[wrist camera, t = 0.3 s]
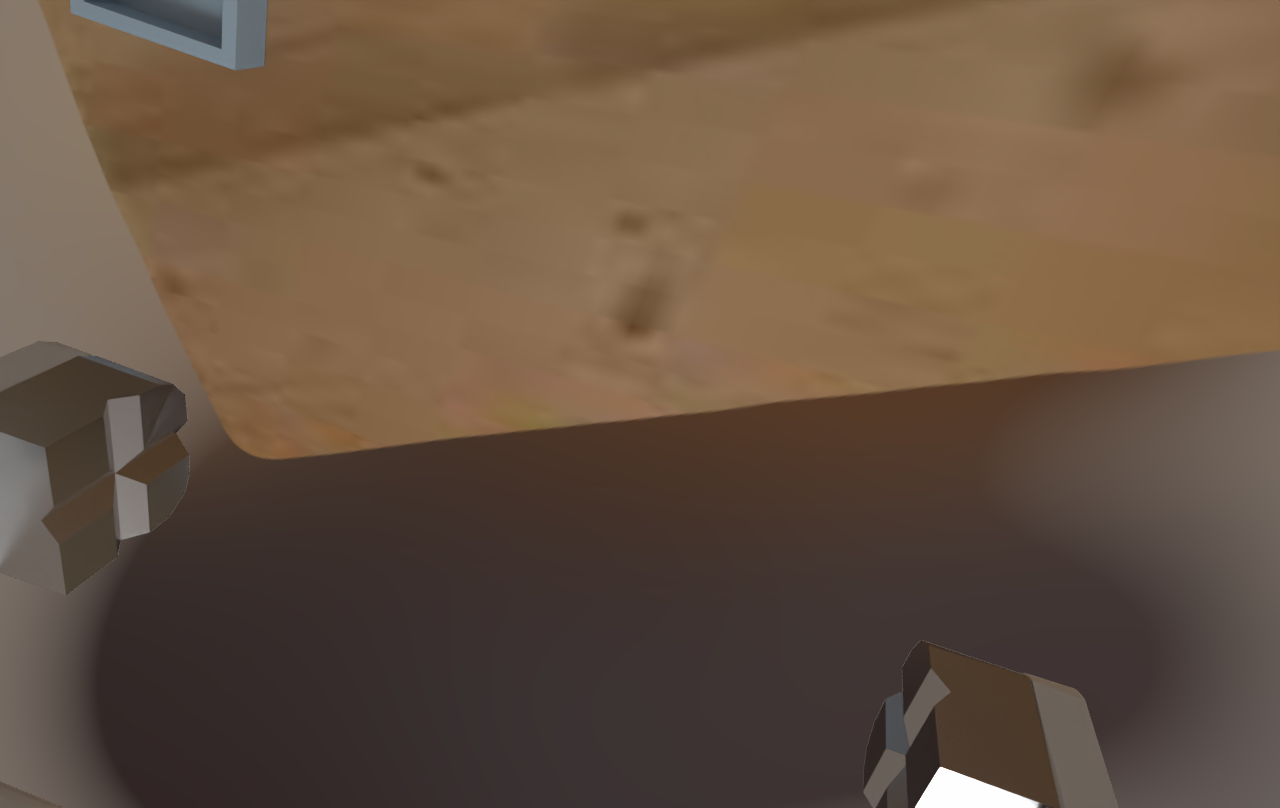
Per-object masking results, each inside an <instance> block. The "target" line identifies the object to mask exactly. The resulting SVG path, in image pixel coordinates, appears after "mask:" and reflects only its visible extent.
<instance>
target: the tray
mask: <svg viewBox="0 0 1280 808" xmlns="http://www.w3.org/2000/svg"><path fill="white" fill-rule="evenodd" d="M70 6H71V13H73V14H75V15H78V16H81V17H84V18H87V19H90V20H93V21H95V22H98V23H101V24H104V25H107V26H110V27H113V28H115V29H118V30H121V31H124V32H127V33H130V34H133V35H136V36H138V37H141V38H144V39H147V40H150V41H153V42H156V43H158V44H161V45H164V46H167V47H170V48H173V49H176V50H179V51H181V52H184V53H187V54H190V55H193V56H196V57H199V58H201V59H204V60H207V61H210V62H213V63H216V64H219V65H221V66H224V67H227V68H230V69H233V70H241V69H248V68H256V67H263V66H264V59H265V39H266V18H267V0H70Z"/></svg>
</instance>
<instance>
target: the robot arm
mask: <svg viewBox="0 0 1280 808" xmlns="http://www.w3.org/2000/svg"><path fill="white" fill-rule="evenodd" d="M187 421H188V419H187V408H186V398H185V394H184V393H183V392H182V391H181V390H179V389H178V388H177V387H176V386H175V385H174V384H172V383H169V382H166V381H163V380H160V379H158V378H155V377H153V376H150V375H147V374H144V373H142V372H139V371H136V370H133V369H131V368H128V367H125V366H123V365H120V364H117V363H114V362H112V361H109V360H106V359H103V358H101V357H98V356H92V355H90V354H88V353H86V352H83V351H80V350H77V349H75V348H72V347H69V346H66V345H63V344H60V343H58V342H42V341H38V342H36V343H33V344H31V345H28V346H26V347H24V348H21V349H19V350H17V351H14V352H12V353H9V354H7V355H5V356H2V357H0V573H2V574H5V575H8V576H11V577H14V578H17V579H20V580H23V581H25V582H28V583H31V584H34V585H37V586H40V587H43V588H46V589H49V590H52V591H55V592H58V593H60V594H63V595H67V594H69V593H70V592H71V591H73V590H74V589H75V588H76V587H78V586H79V585H81V584H82V583H83V582H85V581H86V580H87V579H89V578H90V577H91V576H93V575H94V574H95V573H96V572H98V571H99V570H101V568H103V567H105V566H106V565H107V564H109V563H110V562H111V561H112V560H114V559H115V558H116V557H118V552H119V546H120V542H121V540H122V539H126V538H130V537H133V536H137V535H141V534H145V533H149V532H151V531H152V530H153V529H154V528H156V527H157V526H158V525H159V524H161V523H162V522H163V521H164V520H166V519H167V518H168V517H169V516H170V515H171V513H172V512H173V510H174V509H175V507H176V506H177V504H178V503H179V501H180V500H181V498H182V497H183V495H184V494H185V490H186V486H187V482H188V478H189V474H190V471H189V470H190V469H189V454H188V452H187V451H186V449H185V447H184V446H183V444H182V442H181V441H180V439H179V438H178V436H177V434H176V433H177V432H178V431H179V430H180V429H181V427H182V426H183V425H184V424H185V423H186V422H187ZM902 686H903V691H902V692H900V693H898V694H896V695H893V696H891V697H889V698H886V699H885V701H884V703H883V705H882V707H881V710H880V711H879V714H878V716H877V718H876V720H875V722H874V725H873V728H872V732H871V735H870V738H869V742H868V745H867V749H866V756H865V763H864V775H863V792H864V794H865V796H866V797H867V799H868V800H869V802H870V804H871V805H872V807H873V808H1118V805H1117V802H1116V799H1115V796H1114V792H1113V789H1112V786H1111V783H1110V780H1109V776H1108V773H1107V770H1106V767H1105V763H1104V760H1103V757H1102V754H1101V750H1100V747H1099V744H1098V741H1097V738H1096V734H1095V731H1094V728H1093V725H1092V721H1091V718H1090V715H1089V712H1088V708H1087V705H1086V702H1085V699H1084V698H1083V696H1082V695H1081V694H1080V693H1079V692H1078V691H1077V690H1076V689H1073V688H1071V687H1067V686H1064V685H1061V684H1058V683H1055V682H1052V681H1048V680H1045V679H1042V678H1039V677H1036V676H1032V675H1029V674H1026V673H1022V674H1020V673H1017V672H1015V671H1012V670H1009V669H1006V668H1002V667H1000V666H997V665H994V664H991V663H987V662H985V661H982V660H979V659H976V658H973V657H970V656H967V655H964V654H961V653H958V652H955V651H952V650H949V649H946V648H943V647H940V646H937V645H934V644H931V643H928V642H925V641H922V640H920V641H919V643H918V644H917V645H916V646H915V647H914V648H913V649H912V650H911V652H910V654H909V656H908V658H907V660H906V661H905V663H904V665H903V667H902ZM0 808H64V807H62V806H59V805H57V804H54V803H52V802H50V801H47V800H45V799H42V798H40V797H37V796H35V795H32V794H30V793H27V792H25V791H23V790H20V789H18V788H15V787H13V786H10V785H8V784H5V783H3V782H0Z"/></svg>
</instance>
